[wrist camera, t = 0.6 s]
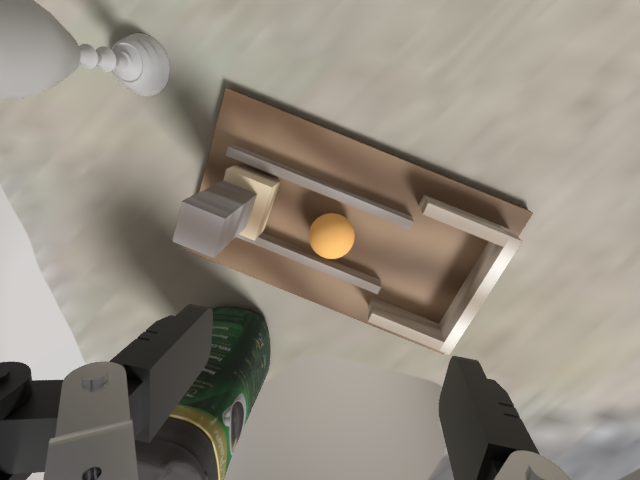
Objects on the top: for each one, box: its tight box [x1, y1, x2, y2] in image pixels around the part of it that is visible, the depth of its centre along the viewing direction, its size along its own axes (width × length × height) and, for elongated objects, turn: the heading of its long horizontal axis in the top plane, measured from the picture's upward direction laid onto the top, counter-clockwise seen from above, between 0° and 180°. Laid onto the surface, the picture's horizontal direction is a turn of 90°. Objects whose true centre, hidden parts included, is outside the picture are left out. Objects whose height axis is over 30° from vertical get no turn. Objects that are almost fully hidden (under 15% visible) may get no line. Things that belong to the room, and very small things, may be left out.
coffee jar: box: [134, 307, 270, 480], centre depth 33 cm, size 10×8×19 cm
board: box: [185, 88, 533, 355], centre depth 33 cm, size 16×28×4 cm, turn 69°
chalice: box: [0, 0, 170, 99], centre depth 24 cm, size 7×7×18 cm
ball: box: [309, 213, 355, 259], centre depth 32 cm, size 4×4×4 cm
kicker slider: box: [173, 164, 281, 258], centre depth 29 cm, size 5×4×10 cm
